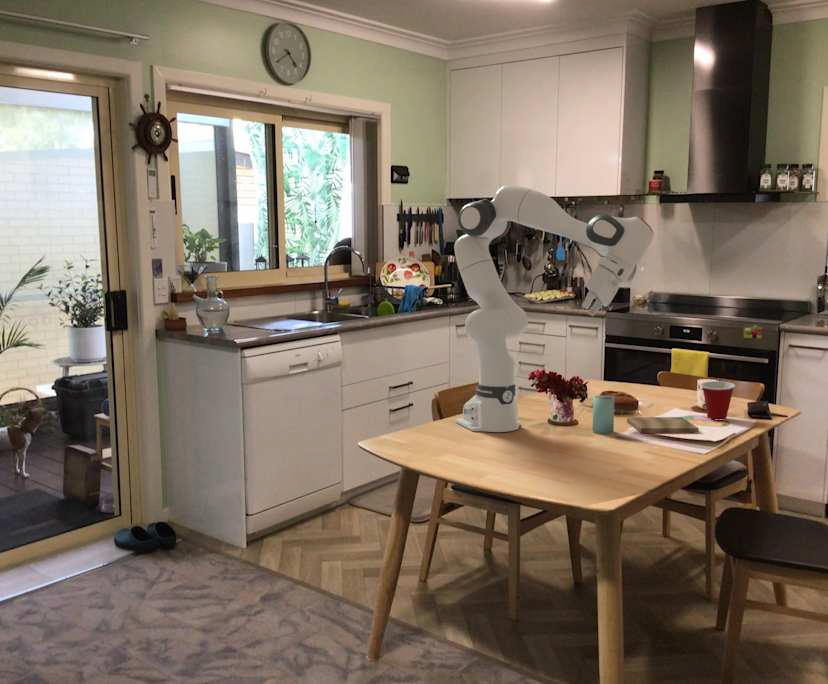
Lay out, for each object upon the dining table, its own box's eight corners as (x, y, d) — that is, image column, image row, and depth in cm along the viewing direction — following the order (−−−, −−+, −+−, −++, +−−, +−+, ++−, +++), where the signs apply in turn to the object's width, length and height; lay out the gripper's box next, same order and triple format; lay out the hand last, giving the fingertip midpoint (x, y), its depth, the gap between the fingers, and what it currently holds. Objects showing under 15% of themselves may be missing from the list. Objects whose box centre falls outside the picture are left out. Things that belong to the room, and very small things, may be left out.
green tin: (588, 431, 253) (588, 396, 252) (603, 428, 256) (604, 394, 255) (602, 435, 247) (603, 399, 246) (617, 432, 251) (618, 397, 249)
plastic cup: (693, 418, 270) (694, 383, 269) (709, 414, 278) (710, 379, 276) (723, 424, 262) (725, 387, 261) (739, 419, 269) (741, 383, 268)
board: (640, 433, 250) (640, 428, 250) (627, 421, 266) (627, 417, 266) (698, 432, 250) (698, 428, 250) (681, 421, 266) (681, 417, 266)
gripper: (610, 274, 242) (584, 312, 243) (599, 255, 223) (571, 297, 224) (628, 284, 239) (602, 323, 240) (618, 266, 221) (590, 309, 221)
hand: (587, 310), depth 232 cm, fingers open, 8 cm apart
